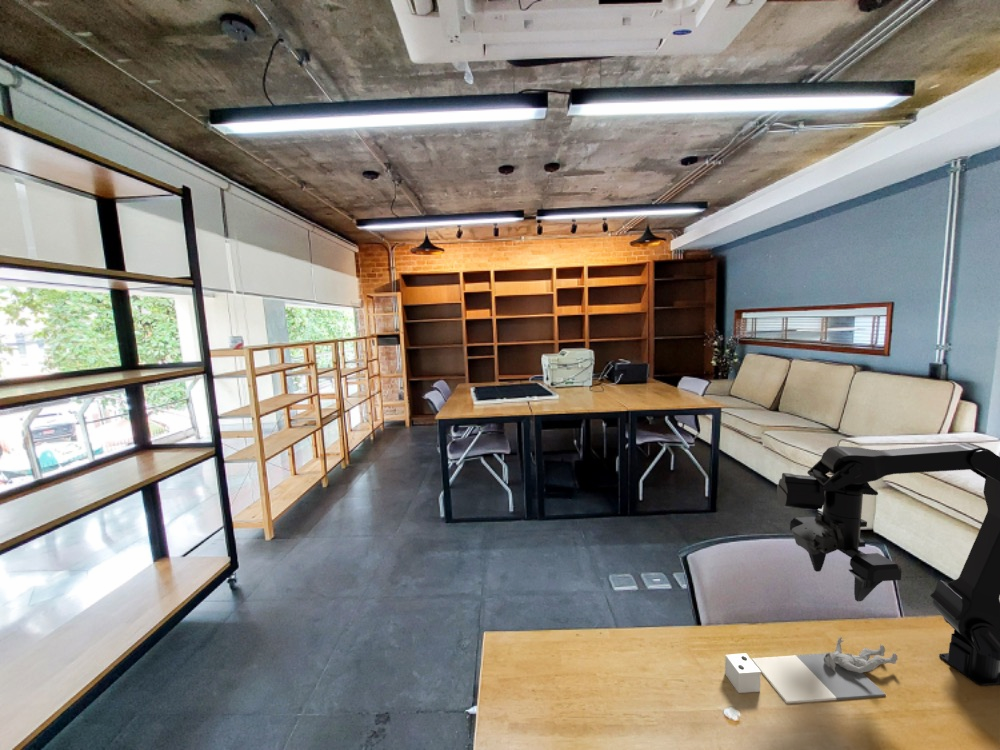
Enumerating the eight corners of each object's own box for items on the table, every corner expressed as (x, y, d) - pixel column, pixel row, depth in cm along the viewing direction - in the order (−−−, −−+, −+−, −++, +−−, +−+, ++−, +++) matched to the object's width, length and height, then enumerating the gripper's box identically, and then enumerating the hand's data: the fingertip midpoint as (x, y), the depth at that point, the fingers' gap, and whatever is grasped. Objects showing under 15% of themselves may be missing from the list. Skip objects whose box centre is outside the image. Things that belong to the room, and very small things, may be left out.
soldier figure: (914, 665, 70) (845, 654, 70) (912, 693, 70) (843, 681, 70) (874, 638, 78) (812, 628, 78) (872, 663, 77) (810, 653, 78)
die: (745, 672, 74) (746, 652, 74) (760, 691, 70) (760, 671, 70) (724, 673, 74) (725, 654, 74) (738, 693, 70) (739, 672, 70)
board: (839, 654, 78) (839, 652, 77) (885, 696, 69) (885, 694, 69) (751, 660, 77) (751, 658, 77) (786, 703, 68) (786, 701, 68)
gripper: (767, 494, 86) (764, 560, 88) (846, 539, 67) (840, 622, 69) (816, 491, 86) (812, 557, 88) (907, 535, 68) (900, 618, 69)
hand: (836, 585), depth 79 cm, fingers open, 9 cm apart
